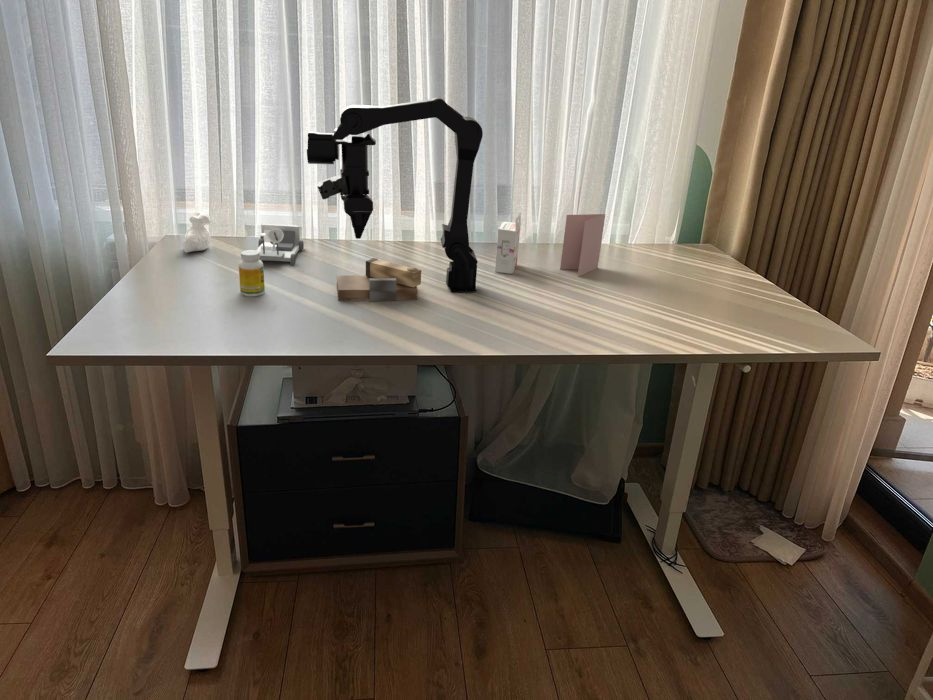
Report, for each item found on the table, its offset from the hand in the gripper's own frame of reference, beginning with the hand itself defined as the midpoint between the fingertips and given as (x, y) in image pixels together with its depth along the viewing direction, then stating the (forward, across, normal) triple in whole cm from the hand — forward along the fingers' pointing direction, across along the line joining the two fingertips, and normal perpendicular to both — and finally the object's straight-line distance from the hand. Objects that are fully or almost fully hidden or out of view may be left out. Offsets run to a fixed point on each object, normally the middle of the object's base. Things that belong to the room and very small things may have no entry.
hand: (356, 233), depth 166 cm
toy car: (+13, -23, -20) cm, 33 cm away
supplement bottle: (+13, +4, -24) cm, 27 cm away
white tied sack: (+12, -30, -39) cm, 51 cm away
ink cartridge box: (+14, -12, +40) cm, 44 cm away
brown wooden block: (+13, +5, +4) cm, 14 cm away
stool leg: (+10, +4, +8) cm, 14 cm away
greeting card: (+14, -8, +61) cm, 63 cm away
